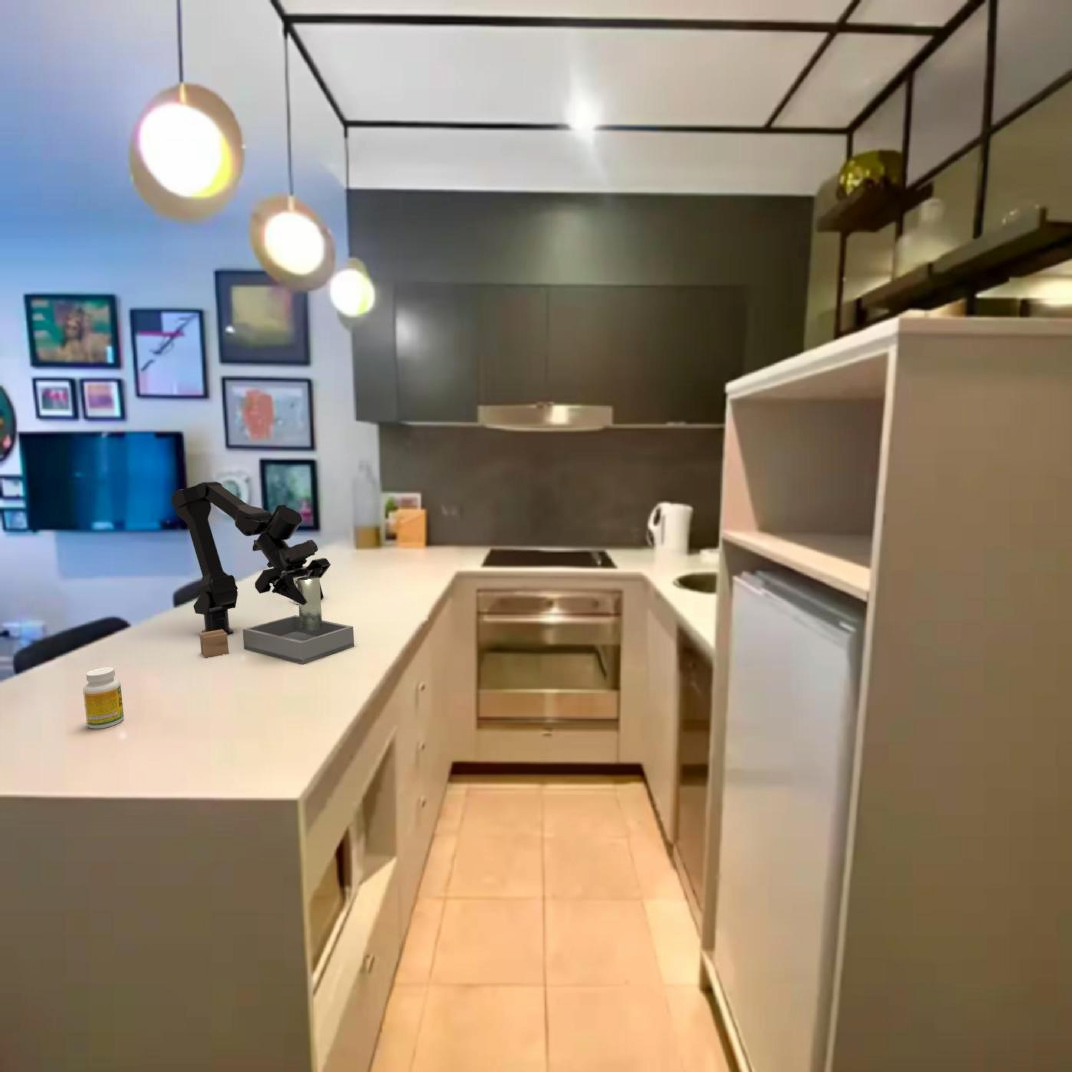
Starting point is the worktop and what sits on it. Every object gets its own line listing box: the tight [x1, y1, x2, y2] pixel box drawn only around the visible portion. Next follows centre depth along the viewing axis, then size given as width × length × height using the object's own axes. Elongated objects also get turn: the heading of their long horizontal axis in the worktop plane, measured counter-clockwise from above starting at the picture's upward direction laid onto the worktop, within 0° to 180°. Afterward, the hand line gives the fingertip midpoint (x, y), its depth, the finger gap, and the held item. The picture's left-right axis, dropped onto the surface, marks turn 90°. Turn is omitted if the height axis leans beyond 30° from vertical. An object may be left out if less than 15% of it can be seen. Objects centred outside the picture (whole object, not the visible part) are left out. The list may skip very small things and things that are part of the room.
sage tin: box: [297, 576, 323, 631], centre depth 143 cm, size 5×5×12 cm
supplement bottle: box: [82, 666, 125, 730], centre depth 106 cm, size 5×5×10 cm
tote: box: [242, 614, 355, 665], centre depth 147 cm, size 22×15×5 cm
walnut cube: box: [199, 629, 230, 659], centre depth 144 cm, size 5×5×5 cm
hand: (313, 601), depth 143 cm, fingers closed on sage tin, 5 cm apart
